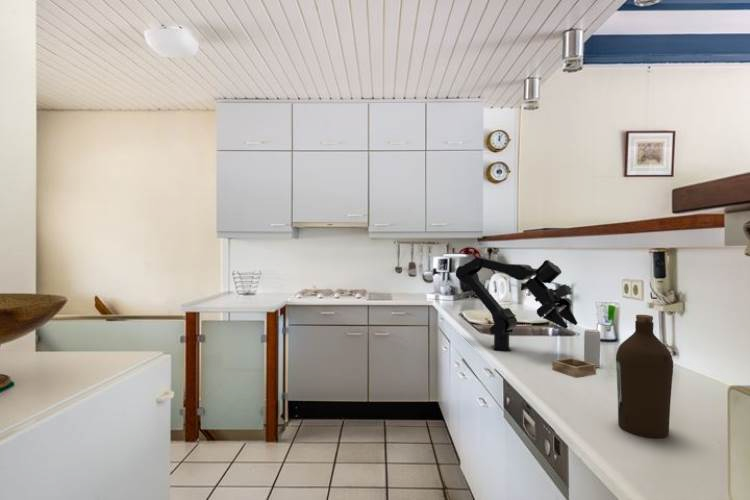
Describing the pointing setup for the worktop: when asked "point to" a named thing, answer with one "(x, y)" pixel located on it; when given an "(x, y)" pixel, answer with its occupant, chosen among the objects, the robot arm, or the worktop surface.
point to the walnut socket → (574, 367)
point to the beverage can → (592, 347)
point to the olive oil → (644, 382)
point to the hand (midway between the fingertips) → (571, 326)
